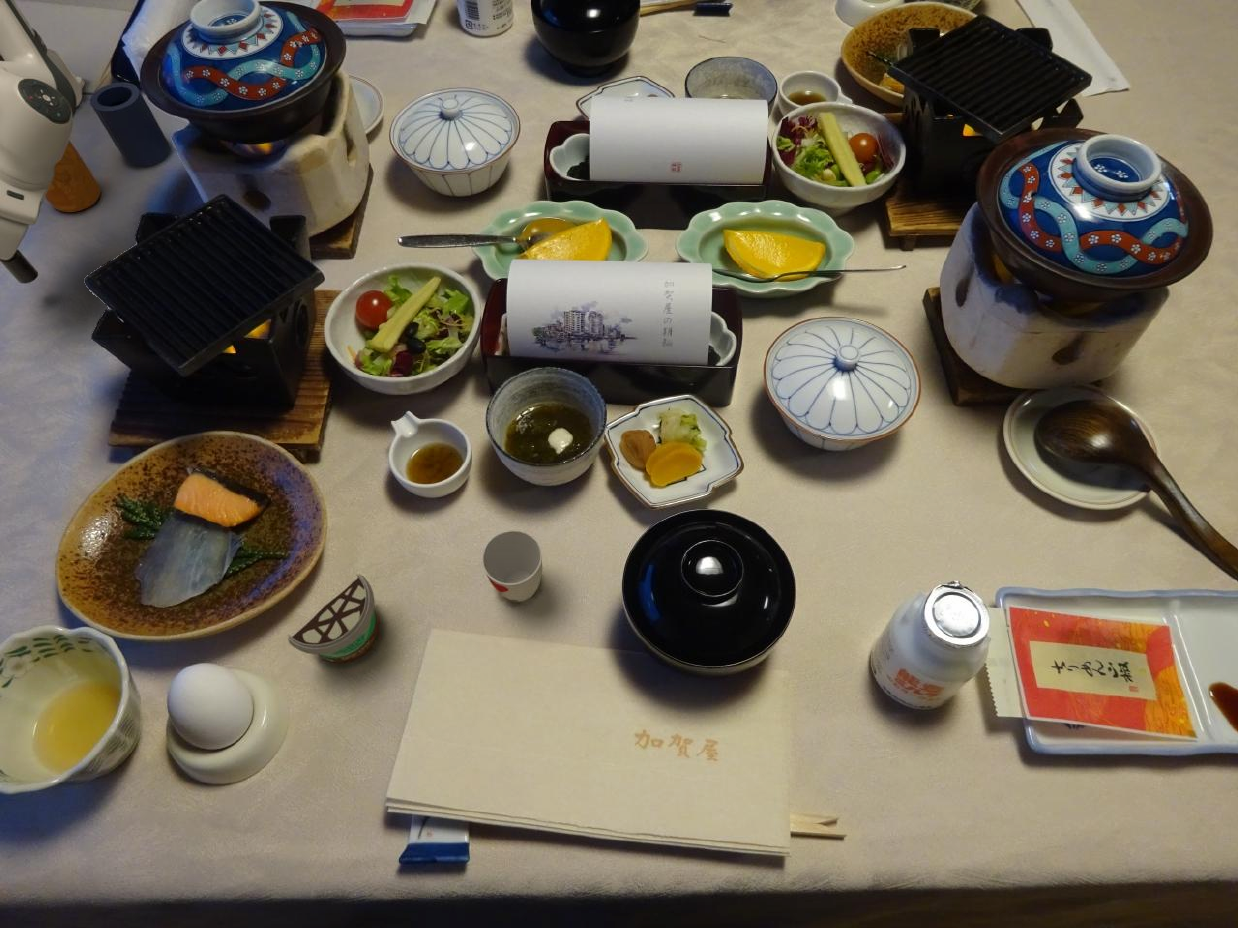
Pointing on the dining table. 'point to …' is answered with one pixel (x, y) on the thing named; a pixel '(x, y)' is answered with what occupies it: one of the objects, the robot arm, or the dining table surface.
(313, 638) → the food container
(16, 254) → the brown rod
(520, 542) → the cup
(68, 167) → the wine bottle
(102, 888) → the dining table surface
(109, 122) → the dark gray hollow cylinder
